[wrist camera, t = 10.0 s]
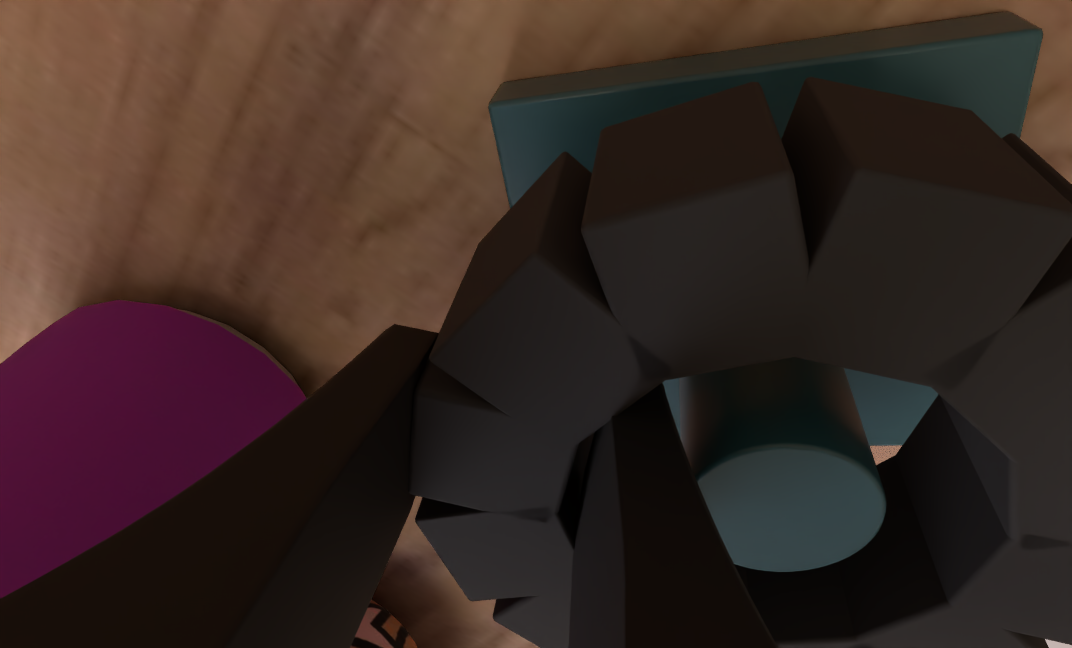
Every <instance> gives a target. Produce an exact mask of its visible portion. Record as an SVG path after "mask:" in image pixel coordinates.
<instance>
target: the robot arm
mask: <svg viewBox="0 0 1072 648" xmlns="http://www.w3.org/2000/svg"><path fill="white" fill-rule="evenodd" d="M438 335H439V333H436V332H431V331H426V330H421V329H416V328H411V327H406V326H401V325H396V324H394V325H392V326H391V327H389V328H388V329H386V330H385V331H384V332H383V333H382V334H381V335H379V336H378V337H377V338H376V339H375V340H374V341H373V342H372V343H371V344H370V345H368V346H367V347H366V348H365V349H364V350H363V351H362V352H361V353H360V354H358V355H357V356H356V357H355V358H354V359H353V360H352V361H351V362H349V363H348V364H347V365H346V366H345V367H344V368H343V369H341V370H340V371H339V372H338V373H337V374H336V375H334V376H333V377H332V378H331V379H330V380H329V381H327V382H326V383H325V384H324V385H323V386H322V387H320V388H319V389H318V390H317V391H315V392H314V393H313V394H312V395H311V396H309V397H308V398H307V399H306V400H304V401H303V402H302V403H301V404H299V405H298V406H297V407H296V408H295V409H293V410H292V411H291V412H290V413H288V414H287V415H286V416H285V417H283V418H282V419H281V420H280V421H278V422H277V423H276V424H275V425H273V426H272V427H271V428H269V429H268V430H267V431H266V432H264V433H263V434H262V435H260V436H259V437H257V438H256V439H255V440H253V441H252V442H251V443H249V444H248V445H246V446H245V447H244V448H242V449H241V450H240V451H238V452H237V453H236V454H234V455H233V456H231V457H230V458H229V459H227V460H226V461H225V462H223V463H222V464H221V465H219V466H218V467H216V468H215V469H214V470H212V471H211V472H210V473H208V474H207V475H205V476H204V477H202V478H201V479H199V480H198V481H196V482H195V483H193V484H192V485H191V486H189V487H188V488H186V489H185V490H183V491H182V492H180V493H179V494H177V495H176V496H174V497H173V498H171V499H170V500H168V501H166V502H165V503H163V504H162V505H160V506H159V507H157V508H156V509H154V510H152V511H151V512H149V513H148V514H146V515H144V516H143V517H141V518H140V519H138V520H136V521H135V522H133V523H132V524H130V525H128V526H127V527H125V528H124V529H122V530H120V531H119V532H117V533H115V534H114V535H112V536H110V537H109V538H107V539H105V540H103V541H102V542H100V543H98V544H97V545H95V546H93V547H91V548H90V549H88V550H86V551H84V552H83V553H81V554H79V555H77V556H76V557H74V558H72V559H70V560H69V561H67V562H65V563H64V564H62V565H60V566H58V567H57V568H55V569H53V570H51V571H50V572H48V573H46V574H44V575H43V576H41V577H39V578H37V579H35V580H33V581H32V582H30V583H28V584H26V585H24V586H22V587H21V588H19V589H17V590H15V591H13V592H11V593H10V594H8V595H6V596H4V597H2V598H0V648H350V647H351V644H352V642H353V640H354V638H355V635H356V633H357V631H358V629H359V626H360V624H361V622H362V620H363V617H364V615H365V613H366V610H367V608H368V606H369V604H370V601H371V599H372V597H373V595H374V592H375V590H376V588H377V586H378V583H379V581H380V579H381V577H382V574H383V572H384V570H385V568H386V565H387V563H388V561H389V558H390V556H391V554H392V552H393V549H394V547H395V545H396V542H397V540H398V538H399V536H400V533H401V531H402V529H403V526H404V524H405V522H406V520H407V517H408V515H409V513H410V510H411V508H412V505H413V502H414V499H415V495H412V494H410V493H409V492H408V480H409V463H410V446H411V429H412V412H413V396H414V389H415V387H416V385H417V383H418V381H419V378H420V376H421V374H422V371H423V369H424V367H425V365H426V362H427V360H428V358H429V356H430V353H431V351H432V349H433V346H434V344H435V342H436V339H437V337H438ZM568 648H778V646H777V645H776V643H775V641H774V639H773V638H772V636H771V634H770V632H769V630H768V628H767V627H766V625H765V623H764V621H763V619H762V618H761V616H760V614H759V612H758V610H757V608H756V606H755V604H754V602H753V601H752V599H751V597H750V595H749V593H748V591H747V589H746V587H745V585H744V583H743V581H742V579H741V577H740V575H739V573H738V571H737V569H736V567H735V565H734V563H733V561H732V559H731V557H730V555H729V553H728V551H727V549H726V546H725V544H724V542H723V540H722V538H721V536H720V534H719V532H718V529H717V527H716V525H715V523H714V520H713V518H712V516H711V513H710V511H709V509H708V506H707V504H706V502H705V499H704V497H703V495H702V492H701V490H700V488H699V485H698V483H697V481H696V478H695V476H694V473H693V471H692V468H691V466H690V463H689V461H688V458H687V455H686V452H685V450H684V447H683V444H682V442H681V439H680V436H679V433H678V430H677V427H676V424H675V422H674V418H673V415H672V412H671V409H670V406H669V402H668V399H667V396H666V392H665V388H664V385H663V384H662V383H661V384H660V385H658V386H657V387H655V388H654V389H653V390H651V391H650V392H649V393H647V394H646V395H644V396H643V397H642V398H640V399H639V400H638V401H636V402H635V403H633V404H632V405H631V406H629V407H628V408H627V409H625V410H624V411H622V412H621V413H620V414H618V415H617V416H612V417H611V420H610V421H609V422H607V423H606V424H605V425H603V426H602V427H601V428H599V429H598V430H596V431H595V433H594V437H593V440H592V444H591V448H590V452H589V456H588V459H587V463H586V467H585V471H584V476H583V482H582V489H581V495H580V503H579V511H578V518H577V526H576V534H575V548H574V553H573V562H572V582H571V603H570V625H569V647H568Z"/></svg>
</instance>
